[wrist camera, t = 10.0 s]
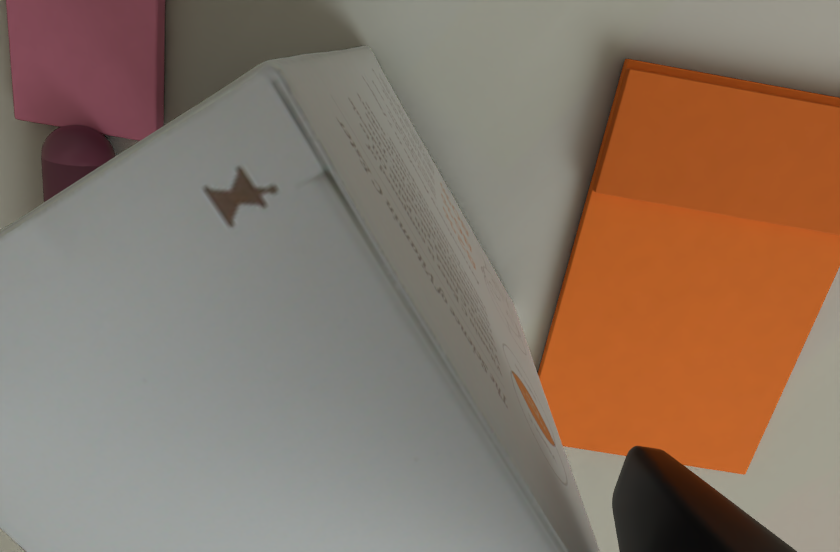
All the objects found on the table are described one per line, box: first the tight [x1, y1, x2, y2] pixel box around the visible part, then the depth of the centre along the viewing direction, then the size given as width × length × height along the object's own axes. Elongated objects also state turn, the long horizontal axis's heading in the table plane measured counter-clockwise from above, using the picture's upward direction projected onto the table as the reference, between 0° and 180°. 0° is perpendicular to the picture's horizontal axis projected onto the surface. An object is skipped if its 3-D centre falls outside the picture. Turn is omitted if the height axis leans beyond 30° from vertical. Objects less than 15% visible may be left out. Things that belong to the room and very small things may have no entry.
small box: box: [0, 45, 600, 552], centre depth 11 cm, size 8×6×10 cm
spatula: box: [6, 0, 165, 202], centre depth 15 cm, size 17×4×2 cm, turn 170°
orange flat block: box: [538, 59, 840, 474], centre depth 16 cm, size 7×11×1 cm, turn 170°
